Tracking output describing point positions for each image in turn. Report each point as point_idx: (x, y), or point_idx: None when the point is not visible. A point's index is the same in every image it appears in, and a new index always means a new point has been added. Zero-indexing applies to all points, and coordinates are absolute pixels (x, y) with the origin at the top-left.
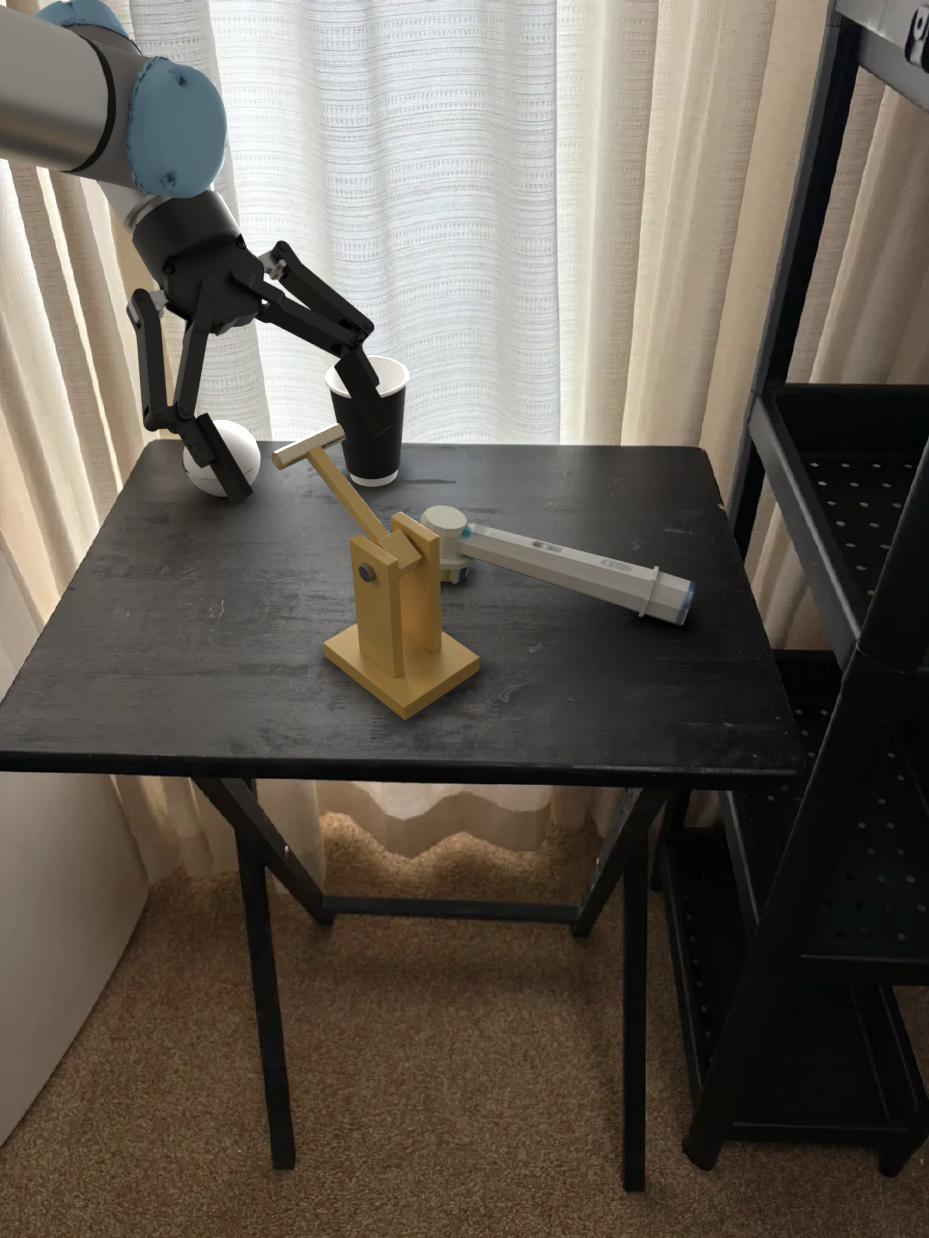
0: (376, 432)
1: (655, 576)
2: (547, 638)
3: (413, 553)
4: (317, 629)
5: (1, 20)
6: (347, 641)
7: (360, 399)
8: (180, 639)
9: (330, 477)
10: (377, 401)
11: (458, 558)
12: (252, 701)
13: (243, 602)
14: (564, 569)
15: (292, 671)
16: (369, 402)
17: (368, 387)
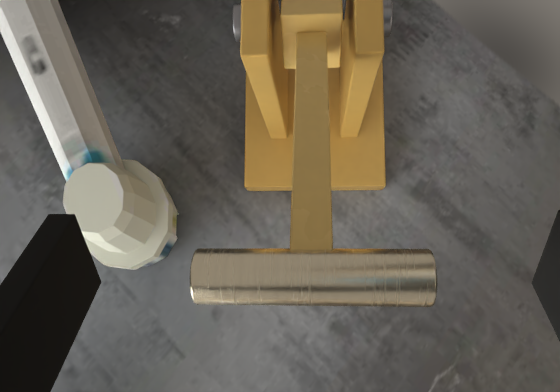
0: (92, 269)
1: None
2: (146, 21)
3: None
4: (355, 241)
5: None
6: (357, 164)
7: (45, 344)
8: (523, 368)
9: (328, 165)
10: (30, 268)
11: (127, 170)
12: (508, 187)
13: (402, 371)
14: (52, 20)
15: (433, 196)
16: (45, 296)
17: (8, 309)
